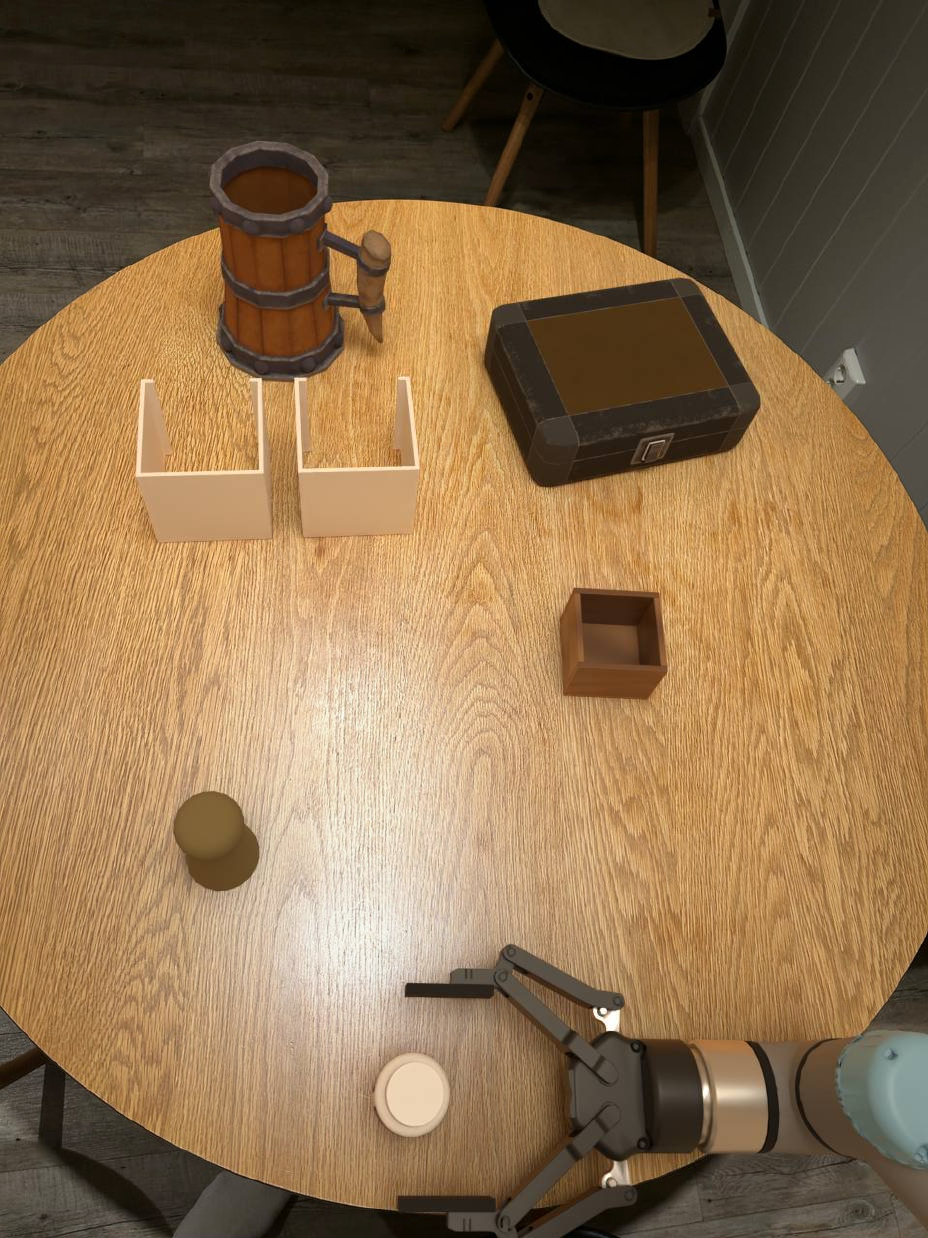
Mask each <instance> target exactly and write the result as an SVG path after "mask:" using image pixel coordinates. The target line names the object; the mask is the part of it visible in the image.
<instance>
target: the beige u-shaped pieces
mask: <svg viewBox="0 0 928 1238" xmlns="http://www.w3.org/2000/svg"><path fill="white" fill-rule="evenodd" d="M410 378H411V377H410V376H397V384H396V385H397V386H396V398H395V414H394V426H393V428H394V429H393V443H392V450H393V451H399V452H400V463H401V466H399V465H398V466H364V467H361V466H360V467H359V466H358V467H325V468H322V467H321V468H305V460H304V457H305V456H304V453H310V452H311V438H310V436H311V435H310V420H309V419H310V418H309V402H308V401H309V400H308V383H307V382H308V381H307V378H294V380H295V382H294V402H295V404H294V405H295V428H296V429H295V430H296V449H297V450H296V452H297V475H298V488H299V489H298V490H299V500H300V501H299V502H300V513H301V525H302V526H301V527H302V538H329V537H330V538H332V537H356V536H357V537H358V536H360V537H361V536H383V535H384V536H385V535H386V536H387V535H388V536H389V535H411V534H413V531H414V524H415V523H414V522H415V515H416V506H417V499H418V498H417V497H418V489H419V480H420V472H421V468H420V467H421V466H420V458H419V450H418V440H417V431H416V423H415V422H416V421H415V414H414V404H413V393H412V387H411V379H410ZM249 387H250V393H251V394H250V395H251V403H252V410H253V417H254V425H255V432H256V439H257V449H258V469H244V470H243V469H242V470H241V469H240V470H238V469H237V470H202V471H200V470H199V471H166V456H173V454H174V452H173V447H172V443H171V439H170V436H169V433H168V429H167V425H166V421H165V417H164V414H163V410H162V406H161V402H160V398H159V393H158V390H157V387H156V383H155V380H154V379H153V378H146V379H145V378H143V379H140V387H139V388H140V389H139V390H140V391H139V409H138V428H137V445H136V463H135V464H136V465H135V479H136V481H137V484H138V485H137V486H138V487H139V490H140V494H141V497H142V499H143V503H144V506H145V508H146V511H147V515H148V517H149V520H150V523H151V526H152V529H153V532H154V535H155V538H156V541H157V543H158V544H161V543H185V542H186V543H189V542H191V543H192V542H193V543H194V542H218V541H219V542H220V541H245V540H272V539H273V518H272V516H273V515H272V513H273V512H272V511H273V510H272V478H271V477H272V475H271V471H272V470H271V447H270V446H271V445H270V437H269V429H268V421H267V420H268V419H267V412H266V404H265V403H266V402H265V395H264V394H265V393H264V387H263V380H262V378H255V377H250V378H249Z"/></svg>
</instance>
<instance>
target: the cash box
mask: <svg viewBox="0 0 928 1238" xmlns="http://www.w3.org/2000/svg"><path fill="white" fill-rule="evenodd" d="M483 361H484V364H485V367H486V369H487V371H488V374H489V376H490V379H491V381H492V384H493V386H494V388H495V391H496V393H497V396H498V399H499V400H500V403H501V405H502V408H503V411H504V412H505V415H506V418H507V420H508V423H509V425H510V427H511V430H512V432H513V435H514V436H515V440H516V441H517V444H518V446H519V449H520V451H521V453H522V457H523V458H524V461H525V463H526V466H527V468H528V471H529V473H530V475H531V478H532V479H534V481H535V482H536V483H537V484H539V485H540V486H549V487H552V486H557V485H563V484H566V483H567V484H568V483H572V482H579V481H582V480H588V479H591V478H596V477H602V476H607V475H611V474H617V473H620V472H622V473H623V472H627V471H632V470H636V469H641V468H642V469H643V468H646V467H652V466H657V465H661V464H665V463H671V462H676V461H681V460H685V459H691V458H696V457H700V456H705V455H710V454H716V453H720V452H726V451H729V450H731V449H733V448H734V447H736V446H737V445H738V444H739V443H741V440H742V439H743V437H744V435H745V434H746V432H747V431H748V429H749V427H750V426H751V424H752V422H753V420H754V419H755V417H756V415H757V414H758V412H759V410H760V409H761V405H762V402H761V401H762V400H761V395H760V393H759V391H758V389H757V388H756V386H755V383H753V380H752V379H751V377H750V375H749V373H748V371H747V370H746V368H745V366H744V364H743V362H742V360H741V359H740V357H739V355H738V354H737V352H736V350H735V348H734V347H733V344H732V343H731V341H730V340H729V338H728V336H727V335H726V333H725V330H724V328H723V327H722V325H721V323H720V322H719V320H718V318H717V316H716V314H715V313H714V311H713V310H712V308H711V306H710V304H709V302H708V301H707V299H706V297H705V295H704V294H703V292H702V290H701V288H700V286H699V285H698V284H697V283H696V282H695V281H694V280H692V279H691V278H687V277H686V278H685V277H674V278H668V279H661V280H660V279H659V280H654V281H647V282H641V283H633V284H628V285H622V286H615V287H608V288H602V289H595V290H588V291H581V292H575V293H568V294H562V295H557V296H556V295H555V296H550V297H543V298H536V299H531V300H523V301H516V302H509V303H504V304H501V305H498V306H497V307H495V308H494V309H492V311H491V316H490V321H489V327H488V333H487V338H486V343H485V348H484V354H483Z"/></svg>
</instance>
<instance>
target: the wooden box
mask: <svg viewBox="0 0 928 1238" xmlns="http://www.w3.org/2000/svg"><path fill="white" fill-rule="evenodd" d="M559 631H560V651H561V669H562V670H561V671H562V690H563V696H565V697H566V696H568V697H588V698H589V697H590V698H591V697H592V698H613V699H632V700H649V697H651V695H652V694H653V692H654V691H655V690H656V688H657V687H658V686H659V685H660V683H661V682H662V681H663V679H664V678H665V677H666V675H667V674H668V672H669V671H668V669H669V668H668V659H667V651H666V641H665V640H666V639H665V633H664V631H665V630H664V622H663V614H662V603H661V595H660V592H658V591H641V590H624V589H609V588H605V589H604V588H591V587H590V588H589V587H573V588H572V590H571V593H570V595H569V598H568V600H567V602H566V605H565V606H564V609H563V611H562V613H561V616H560V618H559Z"/></svg>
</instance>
